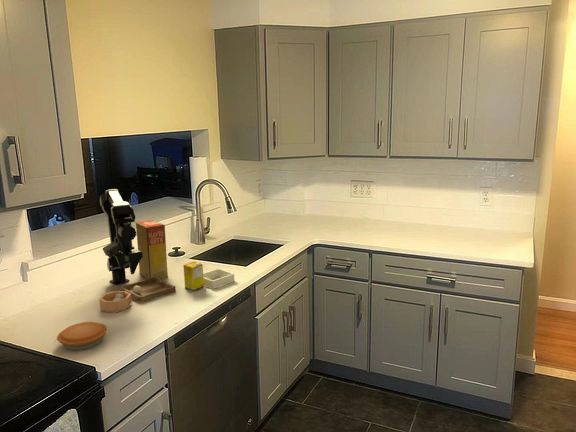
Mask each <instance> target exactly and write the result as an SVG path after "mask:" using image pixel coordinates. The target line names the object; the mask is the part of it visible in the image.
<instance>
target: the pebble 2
mask: <svg viewBox="0 0 576 432" xmlns="http://www.w3.org/2000/svg"><path fill="white" fill-rule="evenodd" d="M141 291H142V289H141V287H140V286H135V287H133V293H135V294H140V293H141Z"/></svg>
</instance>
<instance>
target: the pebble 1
mask: <svg viewBox="0 0 576 432" xmlns="http://www.w3.org/2000/svg"><path fill="white" fill-rule="evenodd" d="M115 298H120V299H124V296H123V295H122V294H117V295H116V296H115V297H114V299H115Z"/></svg>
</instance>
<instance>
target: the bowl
mask: <svg viewBox="0 0 576 432" xmlns="http://www.w3.org/2000/svg"><path fill="white" fill-rule="evenodd" d="M117 294H122V295H123V296H124V299H120V300H117V301H113V299H114V297H115V296H116V295H117ZM98 302H99V308H100V309H101V311H102V312H105V313H119V312H123V311H125V310H128V309H129V308H131V305H132V303H133V299H132V298H131V294H130V293H128V292H126V291H120V290H114V291H110V292H107V293H103V294H101V296H100V297H99V299H98Z"/></svg>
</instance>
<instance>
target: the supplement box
mask: <svg viewBox="0 0 576 432" xmlns="http://www.w3.org/2000/svg"><path fill="white" fill-rule="evenodd" d="M203 268H204V267H203V263H200V262H197V261H191V262H188V263H185V264H183V277H184V290H185V289H186V290H188V291H191V292H196V291H198V290H202V289H203V288H205V286H204V281H203V273H204V269H203Z"/></svg>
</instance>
